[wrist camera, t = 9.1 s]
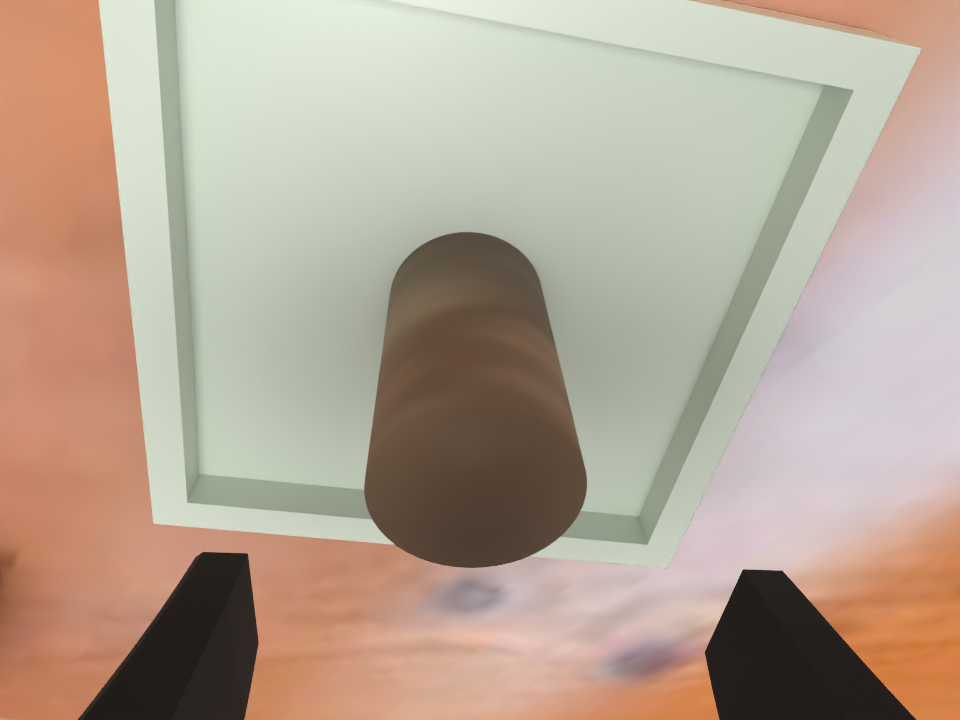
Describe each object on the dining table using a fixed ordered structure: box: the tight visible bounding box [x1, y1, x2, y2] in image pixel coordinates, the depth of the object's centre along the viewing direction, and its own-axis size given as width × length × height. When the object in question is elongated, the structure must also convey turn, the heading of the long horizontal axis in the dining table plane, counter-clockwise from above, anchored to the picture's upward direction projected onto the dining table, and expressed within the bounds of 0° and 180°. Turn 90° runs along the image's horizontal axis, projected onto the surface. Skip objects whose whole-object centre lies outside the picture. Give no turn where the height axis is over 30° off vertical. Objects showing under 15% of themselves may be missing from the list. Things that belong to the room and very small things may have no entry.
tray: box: [99, 0, 922, 568], centre depth 18 cm, size 16×16×2 cm
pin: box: [364, 232, 587, 568], centre depth 16 cm, size 4×4×7 cm
